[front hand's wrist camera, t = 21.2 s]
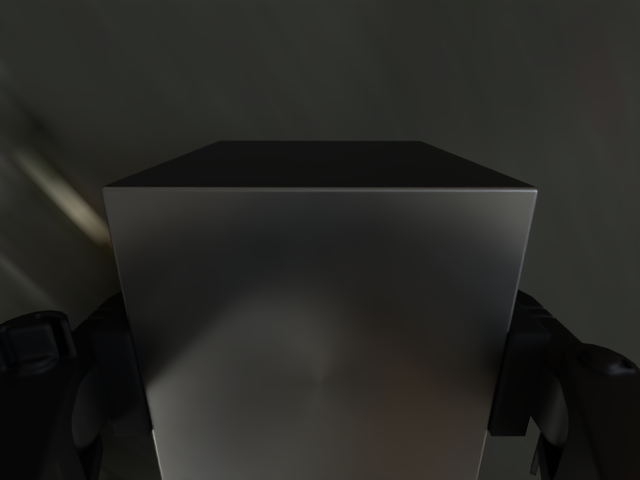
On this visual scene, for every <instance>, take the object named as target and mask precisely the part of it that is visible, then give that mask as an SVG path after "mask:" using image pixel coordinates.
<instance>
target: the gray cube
mask: <svg viewBox="0 0 640 480" xmlns="http://www.w3.org/2000/svg"><path fill="white" fill-rule="evenodd" d="M101 194H102V199H103V203H104V208H105V213H106V218H107V222H108V227H109V232H110V237H111V241H112V246H113V251H114V256H115V260H116V265H117V270H118V275H119V280H120V284H121V289H122V294H123V299H124V303H125V308H126V313H127V318H128V322H129V327H130V332H131V337H132V341H133V346H134V351H135V356H136V361H137V365H138V370H139V375H140V380H141V384H142V389H143V394H144V399H145V403H146V408H147V413H148V418H149V422H150V427H151V432H152V437H153V442H154V446H155V451H156V456H157V461H158V465H159V470H160V475H161V480H478V475H479V470H480V465H481V461H482V456H483V451H484V447H485V442H486V437H487V432H488V428H489V423H490V418H491V414H492V409H493V404H494V400H495V395H496V390H497V385H498V381H499V376H500V371H501V367H502V362H503V357H504V352H505V348H506V343H507V338H508V334H509V329H510V324H511V319H512V315H513V310H514V305H515V301H516V296H517V291H518V286H519V282H520V277H521V272H522V268H523V263H524V258H525V253H526V249H527V244H528V239H529V235H530V230H531V225H532V220H533V216H534V211H535V206H536V202H537V197H538V188H537V187H535V186H532V185H530V184H527V183H525V182H522V181H520V180H517V179H515V178H512V177H510V176H507V175H505V174H502V173H500V172H497V171H495V170H492V169H489V168H487V167H484V166H482V165H479V164H477V163H474V162H472V161H469V160H467V159H464V158H462V157H459V156H457V155H454V154H452V153H449V152H447V151H444V150H442V149H439V148H437V147H434V146H432V145H429V144H427V143H424V142H422V141H218V142H216V143H213V144H210V145H208V146H205V147H203V148H200V149H198V150H195V151H192V152H190V153H187V154H185V155H182V156H180V157H177V158H175V159H172V160H169V161H167V162H164V163H162V164H159V165H157V166H154V167H152V168H149V169H146V170H144V171H141V172H139V173H136V174H134V175H131V176H129V177H126V178H123V179H121V180H118V181H116V182H113V183H111V184H108V185H106V186H103V187H102V188H101Z"/></svg>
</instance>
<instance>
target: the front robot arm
mask: <svg viewBox="0 0 640 480" xmlns="http://www.w3.org/2000/svg"><path fill="white" fill-rule="evenodd" d="M530 415H531V417H532V418H533V420H534V421H535V423H536V424H537V426H538V427H539V429H540V430H541V432H540V436H539V439H538V443H537V447H536V450H535V454H534V457H533V461H532V464H531V470H530V474H533V475H536V473H537V469H538V467H539V466H540V472H541V479H542V480H640V369H639V368H638V367H637V366H636V365H635V363H633V362H632V361H630V360H629V359H627V358H626V357H624V356H623V355H621V354H619V353H617V352H614V351H612V350H610V349H608V348H604V347H601V346H597V345H594V344H586V343H582V342H581V341H580V340H578V339H577V338H576V337H575V336H574V335H573V334H572V333H571V332H570V331H569V330H568V329H567V328H565V327H564V326H563V325H562V324H561V323H560V322H559V321H558V320H557V319H556V318H553V316H552V315H551V314H550V313H549V312H548V311H547V310H546V309H544V308H543V306H542V305H541V304H540V303H538V302H537V301H536V300H535V299H534V298H533V297H532V296H530V295H528V294H526V293H524V292H522V291H520V290H518V291H517V296H516V301H515V305H514V310H513V315H512V319H511V324H510V329H509V334H508V338H507V343H506V348H505V352H504V357H503V362H502V367H501V371H500V376H499V381H498V385H497V390H496V395H495V400H494V404H493V409H492V414H491V418H490V423H489V428H488V430H489V432H490V434H491V436H525V434H526V430H527V426H528V423H529V419H530ZM109 418H111V421H112V425H113V429H114V433H115V436H149V435H150V433H151V427H150V422H149V418H148V413H147V408H146V403H145V399H144V394H143V389H142V384H141V380H140V375H139V370H138V365H137V361H136V356H135V351H134V346H133V341H132V337H131V332H130V327H129V322H128V318H127V313H126V308H125V303H124V299H123V294H122V291H121V292H119V293H117V294H115V295H113V296H111V297H110V298H108V299H107V300H106V301H105V302H104V303H103V304H101V305H100V306H99V307H98V308H97V311H94V312H93V313H92V314H91V315H90V316H89V317H88V319H85V320H84V321H83V322H82V323H81V324H80V325H79V326H78V327H77V328H76V329H75V330H74V331H73V332H71V328H70V324H69V321H68V317H67V315H66V314H64V313H62V312H60V311H51V310H50V311H39V312H34V313H30V314H25V315H21V316H19V317H16V318H14V319H11V320H8V321H6V322H4V323H2V324H1V325H0V480H99V473H100V466H101V460H102V453H103V445H102V439H101V436H100V431H101V430H102V428H103V427H104V425H105V424H106V422H107V421H108V419H109Z"/></svg>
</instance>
